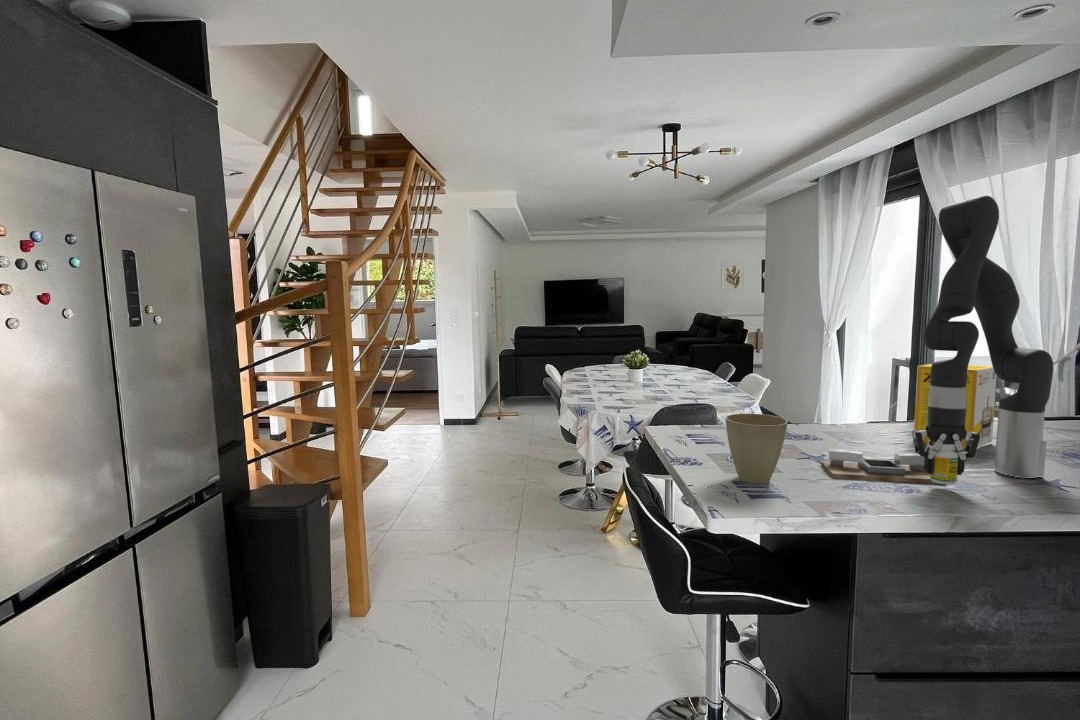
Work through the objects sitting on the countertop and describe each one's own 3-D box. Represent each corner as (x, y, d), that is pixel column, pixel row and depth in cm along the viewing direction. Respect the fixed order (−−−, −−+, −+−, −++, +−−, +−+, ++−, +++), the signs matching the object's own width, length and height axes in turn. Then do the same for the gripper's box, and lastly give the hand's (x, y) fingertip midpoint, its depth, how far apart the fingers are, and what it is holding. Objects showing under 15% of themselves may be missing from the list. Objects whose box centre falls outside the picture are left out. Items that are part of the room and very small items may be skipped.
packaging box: (934, 435, 197) (939, 362, 194) (991, 444, 183) (997, 366, 181) (913, 441, 188) (917, 365, 185) (971, 451, 174) (977, 370, 172)
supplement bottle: (935, 476, 142) (937, 439, 141) (960, 482, 138) (962, 443, 137) (925, 480, 139) (927, 442, 138) (951, 486, 135) (953, 446, 134)
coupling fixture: (925, 468, 152) (926, 452, 152) (939, 477, 144) (941, 461, 143) (825, 463, 158) (826, 448, 157) (834, 471, 149) (834, 456, 149)
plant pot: (711, 475, 151) (713, 415, 150) (756, 469, 156) (758, 411, 155) (750, 492, 137) (752, 426, 136) (799, 485, 142) (801, 422, 141)
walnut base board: (925, 471, 154) (926, 466, 154) (946, 484, 142) (946, 480, 142) (820, 465, 160) (821, 461, 159) (832, 478, 148) (832, 473, 148)
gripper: (973, 402, 139) (969, 470, 140) (907, 401, 142) (904, 468, 143) (990, 408, 131) (985, 479, 133) (920, 406, 135) (916, 476, 136)
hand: (943, 473), depth 138 cm, fingers closed on supplement bottle, 5 cm apart
